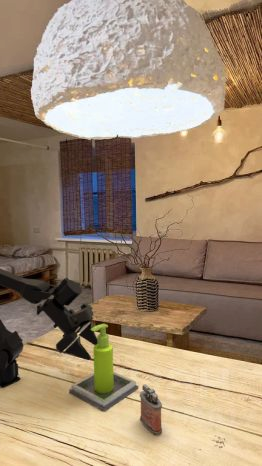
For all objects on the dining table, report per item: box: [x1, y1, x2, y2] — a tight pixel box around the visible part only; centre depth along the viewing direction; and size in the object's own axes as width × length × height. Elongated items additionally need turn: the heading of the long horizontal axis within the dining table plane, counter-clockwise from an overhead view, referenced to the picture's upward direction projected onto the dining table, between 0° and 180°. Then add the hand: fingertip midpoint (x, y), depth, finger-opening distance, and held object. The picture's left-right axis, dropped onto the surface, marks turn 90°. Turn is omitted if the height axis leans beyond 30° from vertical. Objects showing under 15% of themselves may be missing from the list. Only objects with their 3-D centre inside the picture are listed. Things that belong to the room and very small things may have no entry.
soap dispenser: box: [90, 323, 114, 393], centre depth 105 cm, size 6×7×20 cm
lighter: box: [139, 383, 163, 436], centre depth 89 cm, size 8×3×10 cm, turn 30°
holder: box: [69, 371, 139, 413], centre depth 106 cm, size 15×15×2 cm
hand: (94, 352), depth 105 cm, fingers open, 9 cm apart
